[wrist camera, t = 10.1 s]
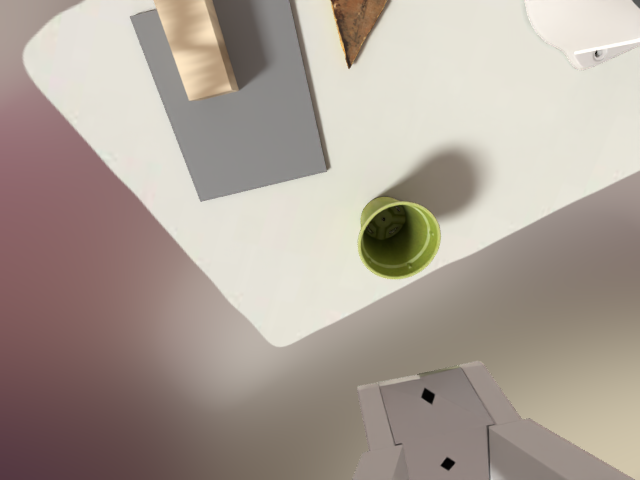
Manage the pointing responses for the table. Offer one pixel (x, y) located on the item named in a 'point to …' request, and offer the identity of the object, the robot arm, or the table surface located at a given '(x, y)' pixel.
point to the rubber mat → (241, 102)
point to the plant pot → (397, 238)
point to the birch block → (197, 47)
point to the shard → (355, 23)
